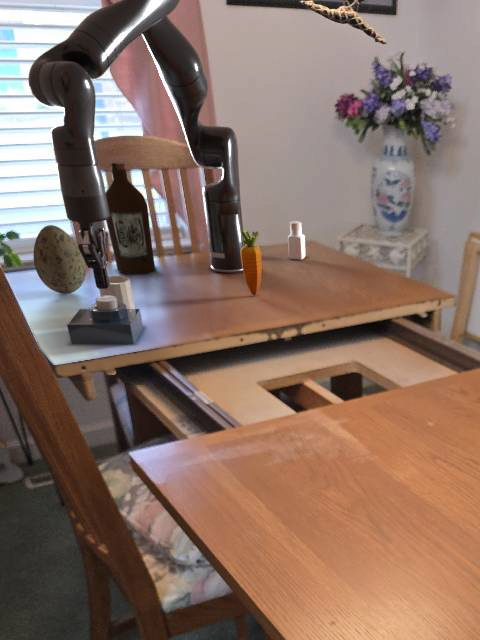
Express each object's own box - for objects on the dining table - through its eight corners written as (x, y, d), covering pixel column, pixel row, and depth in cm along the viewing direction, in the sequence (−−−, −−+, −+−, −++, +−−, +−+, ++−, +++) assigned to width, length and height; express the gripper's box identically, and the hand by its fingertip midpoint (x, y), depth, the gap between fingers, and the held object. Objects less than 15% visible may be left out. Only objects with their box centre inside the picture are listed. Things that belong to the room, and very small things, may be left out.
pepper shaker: (288, 259, 200) (286, 223, 194) (292, 256, 203) (290, 220, 197) (302, 260, 199) (300, 224, 194) (306, 257, 202) (304, 221, 197)
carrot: (267, 293, 173) (262, 227, 164) (261, 299, 169) (256, 232, 160) (247, 292, 173) (241, 226, 164) (241, 298, 169) (234, 231, 160)
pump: (95, 311, 140) (92, 301, 139) (99, 305, 143) (97, 295, 142) (116, 311, 141) (113, 301, 139) (120, 305, 144) (118, 295, 143)
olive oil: (114, 265, 188) (94, 160, 174) (156, 263, 191) (139, 159, 177) (115, 276, 180) (94, 166, 166) (158, 273, 183) (141, 166, 169)
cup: (109, 312, 157) (101, 275, 152) (138, 312, 158) (132, 275, 153) (102, 322, 152) (94, 284, 147) (133, 322, 152) (125, 284, 148)
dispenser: (71, 344, 140) (64, 314, 137) (84, 327, 148) (77, 299, 145) (133, 344, 142) (128, 314, 138) (143, 327, 150) (137, 299, 146)
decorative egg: (40, 301, 162) (22, 231, 153) (43, 287, 170) (26, 220, 161) (90, 298, 165) (75, 229, 156) (91, 285, 173) (77, 219, 164)
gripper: (96, 198, 125) (115, 297, 135) (112, 185, 135) (129, 278, 145) (51, 197, 124) (74, 297, 134) (71, 184, 134) (91, 278, 144)
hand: (103, 287), depth 139 cm, fingers closed
